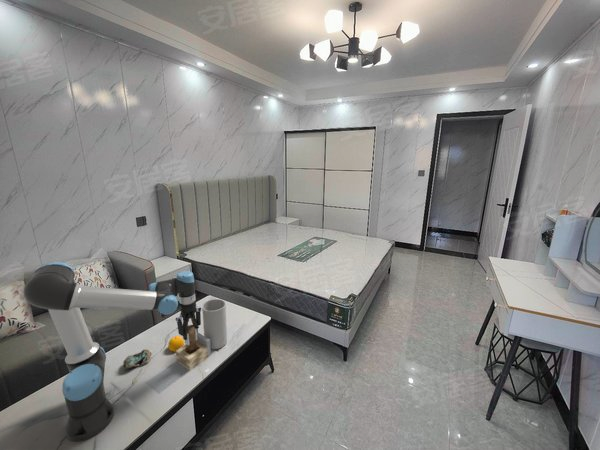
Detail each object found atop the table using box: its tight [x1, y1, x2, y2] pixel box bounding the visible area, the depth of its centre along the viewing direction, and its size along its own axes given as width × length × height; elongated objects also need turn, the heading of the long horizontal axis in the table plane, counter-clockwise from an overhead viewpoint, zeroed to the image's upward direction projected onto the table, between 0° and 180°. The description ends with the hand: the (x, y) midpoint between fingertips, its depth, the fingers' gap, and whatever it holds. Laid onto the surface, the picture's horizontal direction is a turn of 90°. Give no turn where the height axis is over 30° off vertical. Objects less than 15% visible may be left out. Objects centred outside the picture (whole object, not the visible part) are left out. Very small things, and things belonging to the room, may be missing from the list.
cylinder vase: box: [201, 298, 228, 351], centre depth 150 cm, size 12×12×25 cm
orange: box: [167, 335, 185, 353], centre depth 146 cm, size 8×8×8 cm
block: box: [175, 340, 209, 371], centre depth 138 cm, size 11×11×6 cm
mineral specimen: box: [122, 348, 153, 371], centre depth 136 cm, size 12×9×8 cm
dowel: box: [187, 324, 196, 353], centre depth 136 cm, size 4×4×14 cm
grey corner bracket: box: [145, 332, 212, 394], centre depth 132 cm, size 29×11×11 cm, turn 148°
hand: (191, 341), depth 136 cm, fingers closed on dowel, 4 cm apart
